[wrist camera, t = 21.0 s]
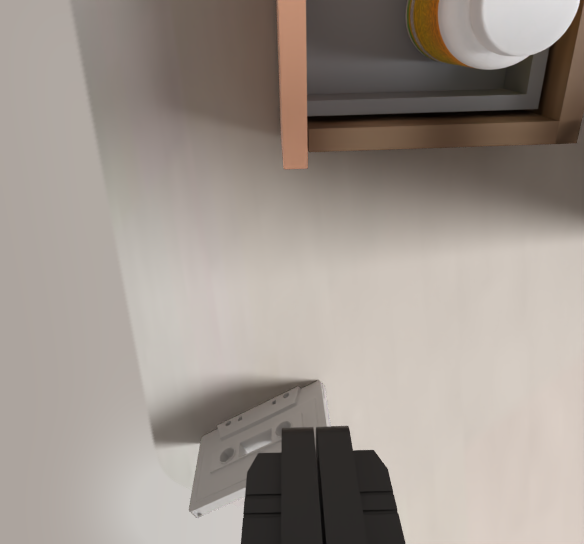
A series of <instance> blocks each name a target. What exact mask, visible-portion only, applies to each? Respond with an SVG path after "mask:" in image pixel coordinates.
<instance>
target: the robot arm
mask: <svg viewBox="0 0 584 544" xmlns="http://www.w3.org/2000/svg"><path fill="white" fill-rule="evenodd" d="M241 544H405V540H404V536H403V531H402V527H401V523H400V519H399V515H398V513H397V506H396V502H395V498H394V495H393V489H392V485H391V481H390V477H389V473H388V469H387V467H386V466H385V465H384V463H383V462H382V461H381V459H380V458H379V457H378V455H377V454H376V453H375V451H374V450H356V451H353V449H352V443H351V437H350V431H349V427H348V426H326V427H316V451H315V438H314V427H290V428H282V441H281V452H279V453H258V454H257V456H256V458H255V459H254V461H253V463H252V465H251V466H250V468H249V470H248V471H247V478H246V490H245V502H244V518H243V527H242V538H241Z"/></svg>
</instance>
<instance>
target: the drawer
mask: <svg viewBox="0 0 584 544" xmlns="http://www.w3.org/2000/svg"><path fill="white" fill-rule="evenodd" d="M407 1H408V0H276V5H277V35H278V64H279V93H280V122H281V143H282V155H283V167H284V169H307V168H308V146H307V116H333V115H365V114H397V113H428V112H460V111H491V110H523V109H538V106H539V101H540V95H541V90H542V85H543V79H544V74H545V68H546V63H547V58H548V52H549V47H548V48H546V49H545V50H543V51H541V52H538V53H536V54H533V55H530V56H528V57H527V58H525V59H524V60H522V61H520V62H518V63H516V64H514V65H511V66H508V67H505V68H501V69H493V70H484V69H477V68H471V67H465V66H460V65H454V64H448V63H442V62H438V61H434V60H432V59H429V58H428V57H426V56H424V55H423V54H422V53H421V52H419V51H418V49H417V48H416V47H415V46H414V44H413V43H412V41H411V39H410V37H409V34H408V31H407V27H406V6H407Z"/></svg>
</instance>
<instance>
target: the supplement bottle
mask: <svg viewBox="0 0 584 544" xmlns="http://www.w3.org/2000/svg"><path fill="white" fill-rule="evenodd" d="M579 3H580V0H408V1H407V6H406V27H407V31H408V34H409V37H410V39H411V41H412V43H413V44H414V46H415V47H416V48H417V49H418V51H419V52H421V53H422V54H423V55H424V56H426V57H428V58H429V59H432V60H434V61H438V62H442V63H448V64H454V65H460V66H465V67H471V68H477V69H484V70H493V69H501V68H505V67H508V66H511V65H514V64H516V63H518V62H520V61H522V60H524V59H525V58H527V57H528V56H530V55H533V54H536V53H538V52H541V51H543V50H545V49H546V48H548V47H550V46H551V45H552V44H554V43H555V42H556V41H557V40H558V39H559V38H560V37H561V36H562V35H563V34H564V33H565V31H566V30H567V29H568V27H569V26H570V24H571V23H572V21H573V19H574V17H575V15H576V12H577V10H578V6H579Z"/></svg>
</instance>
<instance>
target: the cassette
mask: <svg viewBox="0 0 584 544" xmlns="http://www.w3.org/2000/svg"><path fill="white" fill-rule="evenodd" d="M326 426H331V423H330V416H329V410H328V403H327V396H326V390H325V386H324V384H323V383H321V382H320V381H319V380H318V381H316V382H314V383H312V384H310V385H308V386H306V387H303V388H300V387H299V386H298V387H295V388H293V389H291V390H289V391H287V392H285V393H283V394H281V395H279V396H277V397H275V398H273V399H271V400H269V401H267V402H264V403H262V404H260V405H258V406H256V407H254V408H252V409H250V410H248V411H246V412H244V413H242V414H240V415H238V416H235V417H233V418H231V419H229V420H227V421H225V422H223V423H221V424H219V425H217V428H218V429H216V430H214V431H212V432H210V433H208V434H206V435H204V436H202V438H201V442H200V448H199V454H198V459H197V465H196V471H195V477H194V482H193V488H192V494H191V500H190V505H189V511H190V512H191V513H192V514H193V515H194V516H195V517H196V518H199V517H201V516H203V515H206V514H208V513H210V512H212V511H215V510H217V509H219V508H221V507H224V506H226V505H228V504H230V503H233V502H235V501H237V500H239V499H242V498H244V497H245V490H246V478H247V471H248V470H249V468H250V466H251V465H252V463H253V461H254V459H255V458H256V456H257V454H258V453H279V452H281V441H282V428H290V427H314V438H315V451H316V427H326Z"/></svg>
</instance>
